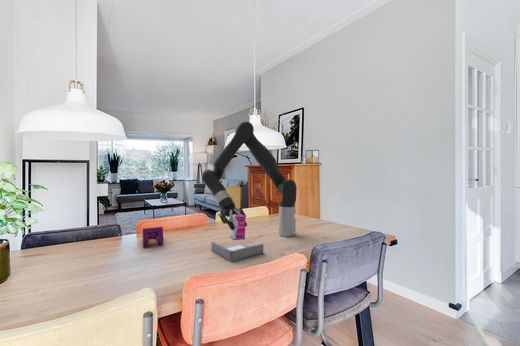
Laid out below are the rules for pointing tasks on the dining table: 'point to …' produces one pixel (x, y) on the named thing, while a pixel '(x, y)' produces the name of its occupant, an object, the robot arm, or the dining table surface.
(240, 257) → the corner tray
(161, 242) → the mounting bracket
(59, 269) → the dining table surface
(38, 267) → the dining table surface
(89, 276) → the dining table surface
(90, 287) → the dining table surface
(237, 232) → the supplement box
